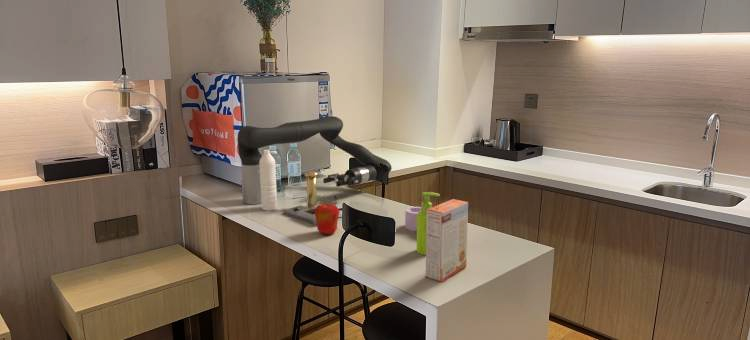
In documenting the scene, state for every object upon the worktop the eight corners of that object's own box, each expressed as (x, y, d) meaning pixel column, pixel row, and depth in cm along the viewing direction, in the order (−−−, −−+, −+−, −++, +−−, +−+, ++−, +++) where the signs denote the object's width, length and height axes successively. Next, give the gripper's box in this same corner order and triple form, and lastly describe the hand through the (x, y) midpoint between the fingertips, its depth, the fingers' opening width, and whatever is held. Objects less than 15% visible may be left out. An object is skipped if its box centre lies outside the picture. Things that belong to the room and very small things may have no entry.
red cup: (310, 234, 181) (310, 203, 179) (323, 227, 189) (323, 197, 186) (331, 238, 177) (330, 206, 175) (343, 231, 185) (343, 200, 182)
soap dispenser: (436, 255, 163) (438, 195, 158) (415, 253, 164) (416, 194, 159) (438, 248, 168) (440, 191, 164) (417, 247, 169) (418, 189, 165)
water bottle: (258, 208, 212) (255, 150, 206) (270, 205, 216) (267, 147, 211) (272, 212, 206) (269, 152, 201) (284, 208, 211) (281, 150, 206)
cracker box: (450, 262, 157) (452, 197, 153) (466, 267, 153) (469, 201, 149) (423, 276, 147) (425, 208, 142) (441, 283, 143) (443, 212, 138)
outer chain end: (297, 218, 199) (296, 209, 198) (314, 213, 205) (314, 204, 204) (318, 226, 190) (318, 217, 189) (336, 220, 197) (336, 211, 196)
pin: (302, 207, 213) (301, 172, 210) (313, 204, 217) (312, 170, 214) (311, 210, 209) (310, 174, 206) (321, 207, 213) (320, 172, 210)
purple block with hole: (399, 230, 186) (399, 212, 185) (416, 221, 196) (416, 204, 195) (448, 241, 175) (448, 222, 174) (463, 231, 185) (464, 213, 184)
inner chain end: (283, 213, 205) (283, 208, 204) (300, 208, 211) (300, 204, 211) (313, 224, 192) (313, 219, 192) (331, 218, 199) (330, 213, 198)
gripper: (346, 165, 234) (319, 171, 222) (368, 170, 224) (341, 176, 213) (346, 181, 236) (319, 187, 224) (368, 186, 226) (341, 193, 215)
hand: (330, 182), depth 218 cm, fingers open, 8 cm apart
